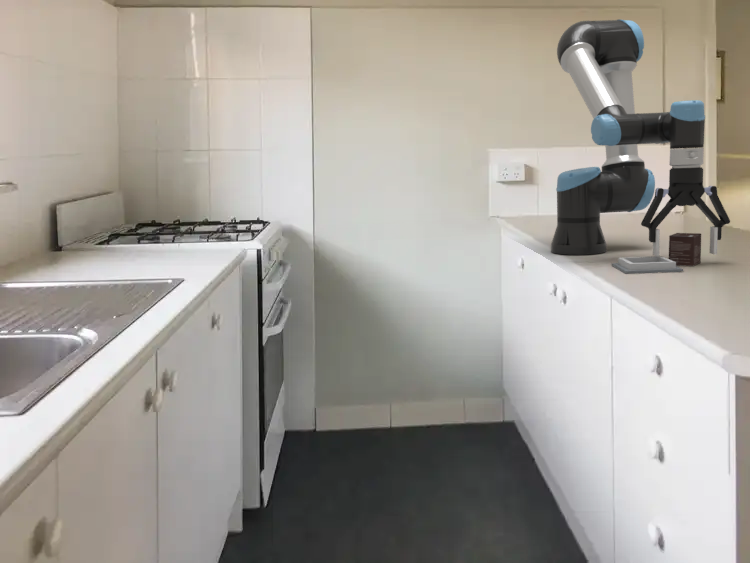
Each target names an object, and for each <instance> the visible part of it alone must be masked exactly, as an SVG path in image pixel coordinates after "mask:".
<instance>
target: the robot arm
mask: <svg viewBox="0 0 750 563" xmlns="http://www.w3.org/2000/svg"><path fill="white" fill-rule="evenodd" d="M556 47H557V48H556V55H557V56H556V57H557V60H558V63H559V65H560V66H561V68H562V70H563V71H564V72H566V73H567V74H569V76H570V78H571V79H572V81H573V83H574V84H575V88H576V89H577V91H578V92H579V94H580V96H581V97H582V100H583V102H584V103H585V105H586V107H587V109H588V112H590V115H591V117H592V118H593V119H592V122H591V126H590V134H591V140H592V142H593V143H594V144H595V145H598V146H605V156H606V157H605V158H606V160H605V162H603V164H602V165H601V168H600V167H599V166H589V167H581V168H576V169H575V168H574V169H569V170H565V171H563V172H561V173H560V174H559V175H558V176H557V181H556V189H555V190H556V206H557V207H556V208H557V209H556V211H557V212H556V217H557V218H556V219H557V221H556V222H557V223H556V224H557V225H556V228H555V230H554V235H553V238H552V241H551V245H550V252H551V253H552V254H559V255H569V256H571V255H575V256H576V255H578V256H581V255H583V256H584V255H597V254H603V253H605V252H607V242H606V238H605V234H604V233H603V230H602V227H601V214H605V213H607V214H608V213H631V212H637V211H642V210H645V209H646V208H648V209H647V211H646V213H645V215H644V217H643V218H642V221H641V224H640V225H641V226H642V227H644V228H647V229H648V240H649V242H650V243H652V256H660V229H659V228H658V227H659V226H660V224H661V223H662V222H663V221H664V220H665V219H666V218H667V216H668V215H669V214H670V213H671V212H672V210H673V209H674V208H676V207H685V206H689V207H690V206H691V207H692V206H693V207H694V206H696V208H698V209H699V210H700V211H701V212H702V214H704V216H705V217H706V218H707V219H708V220H709V221H710V223H712V225H713V226H712V225H711V226H710V228H709V254H711V255H718V241H721V240H722V229H723V227H724V226H725V225H730V224H731V220H730V216H728V213H727V211H726V209H725V207H724V205H723V204H722V201H721V200H720V197H719V195H718V189H717V188H718V187H717V186H716V185H709V186H706V187H704V168H703V167H701V166H703V164H704V157H705V156H704V145H705V122H706V121H705V120H706V115H705V103H704V102H703V100H700V99H698V100H697V99H695V100H680V101H674V102H672V103H671V105H670V110H669V111H666V112H665V111H663V112H647V113H645V112H643V113H636V110H635V98H634V87H633V85H634V84H633V72H634V70H635V69H636V67H637V66H638V63H637V62H639V61H640V60H641V58H642V57H643V54H644V51H643V50H644V49H645V39H644V33H643V31H642V29H641V27H640V25H639V24H637V22H635V21H633V20H631V19H630V20H629V19H627V20H625V19H615V20H614V19H610V20H609V19H608V20H607V19H606V20H581V21H578V22H575V23H573V24H572V25H570V26H569V27H567V28H566V30H565V31H564V32H563V33H562V34H561V36H560V38H559V41H558V43H557V46H556ZM646 144H647V145H648V144H649V145H650V144H653V145H654V144H656V145H658V144H661V145H663V144H669V166H670V167H671V168H670V169H669V176H668V178H669V179H668V180H669V181H668V182H669V183H668V184H669V185H668V188H662V187H657V188H656V180H655V175H654V172H653V171H652V170H651V169H648V168H646V166H645V161H644V160H643V158H640V156H639V149H638V145H646ZM704 194H706V196H708V197H709V199H710V202H711V205H712V206H713V207H714V210H715V212H716V214H717V215H716V214H715V213H714V212H713V211H712V209H711V208H710V207H709V206H708V205H707V204H706V202H705V201H704V200H703V199H702V197H703V195H704ZM666 195H668V197H669V198H670V199H669V200H668V201H667V202H666V203H665V205H664V207H663V208H662V209H661V210H660V212H658V214H657V215H656V213H657V210H658V209H659V206H660V205H661V203H662V201H663V198H665V197H666ZM648 206H649V207H648ZM655 215H656V216H655ZM654 216H655V217H654Z"/></svg>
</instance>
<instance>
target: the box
mask: <svg viewBox="0 0 750 563" xmlns="http://www.w3.org/2000/svg"><path fill="white" fill-rule="evenodd" d="M668 237H669V238H668V239H669V240H668V259H670V260H672V261H674V262H676V266H680V265H686V266H685V267H694V266H696V265H698V264H700V263H701V258H702V257H701V255H702V233H696V232H694V233H692V232H688V233H687V232H676V233H673V234H670V235H669V236H668Z"/></svg>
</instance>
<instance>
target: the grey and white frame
mask: <svg viewBox="0 0 750 563" xmlns="http://www.w3.org/2000/svg"><path fill="white" fill-rule="evenodd" d="M611 267H613V268H615V269H617V270H619V271H620V272H622V273H623V274H626V275H627V274H634V275H635V274H655V273H656V274H658V272H662V273H681V272H680V271H683V272H684V268H682V267H679V266H678V265H676V262H674V261H672V260H670V259H669V258H667V257H665V256H662V255H659V256H654V255H652V256H626V257H617V262H611Z"/></svg>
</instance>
